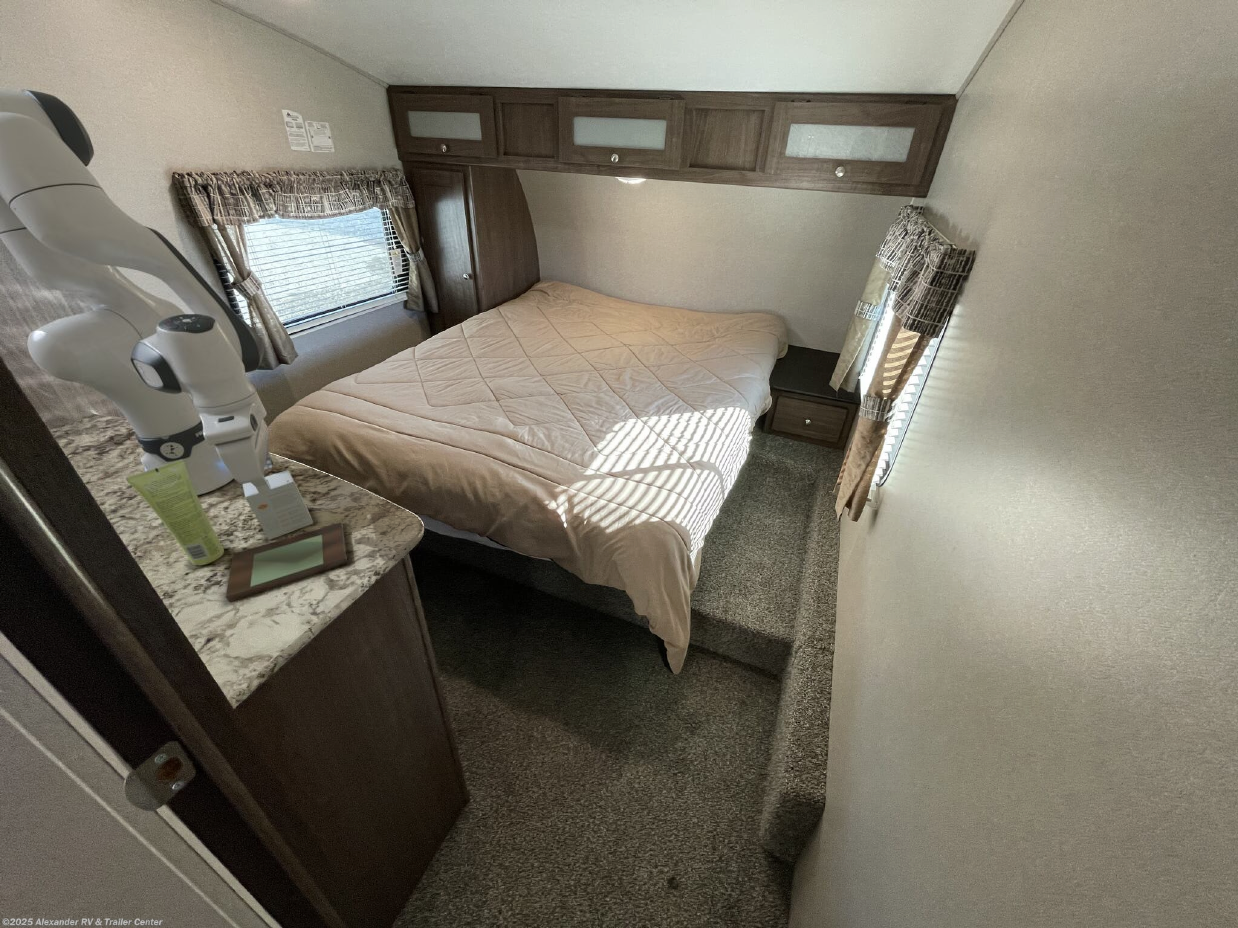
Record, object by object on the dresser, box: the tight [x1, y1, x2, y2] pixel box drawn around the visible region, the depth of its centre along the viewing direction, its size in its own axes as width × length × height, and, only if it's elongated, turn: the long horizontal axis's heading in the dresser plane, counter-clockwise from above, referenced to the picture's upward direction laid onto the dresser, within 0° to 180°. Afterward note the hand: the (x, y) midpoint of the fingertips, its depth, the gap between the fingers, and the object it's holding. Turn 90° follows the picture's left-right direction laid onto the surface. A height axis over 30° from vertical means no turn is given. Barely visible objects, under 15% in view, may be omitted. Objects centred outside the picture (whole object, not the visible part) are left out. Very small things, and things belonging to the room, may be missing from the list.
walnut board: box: [225, 522, 348, 603], centre depth 89 cm, size 12×18×1 cm, turn 119°
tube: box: [125, 459, 225, 566], centre depth 85 cm, size 6×5×20 cm
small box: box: [242, 469, 314, 541], centre depth 95 cm, size 8×6×10 cm
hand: (267, 478), depth 91 cm, fingers open, 8 cm apart
